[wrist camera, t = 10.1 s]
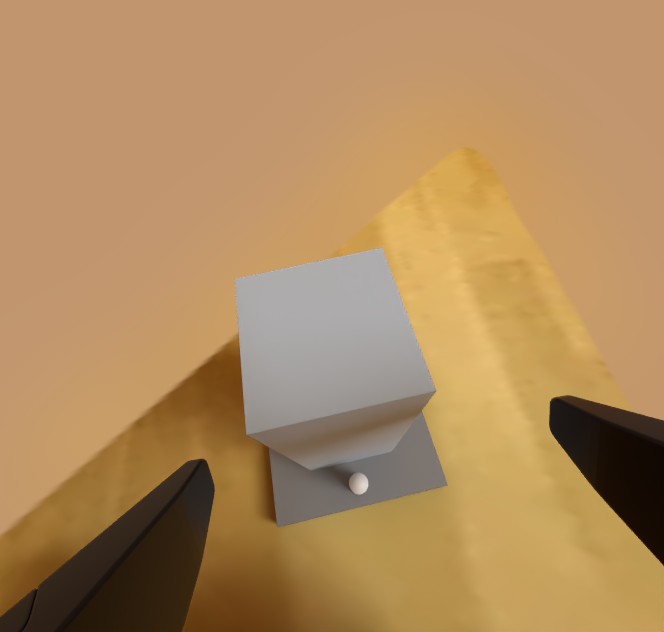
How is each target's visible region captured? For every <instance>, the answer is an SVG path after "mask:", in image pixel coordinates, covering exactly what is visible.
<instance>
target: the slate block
mask: <svg viewBox="0 0 664 632" xmlns="http://www.w3.org/2000/svg"><path fill="white" fill-rule="evenodd" d="M235 289H236V302H237V315H238V330H239V344H240V357H241V371H242V384H243V398H244V412H245V425H246V435H247V436H249V437H251V438H253V439H255V440H256V441H258V442H260V443H262V444H264V445H266V446H267V447H269V448H271V449H273V450H275V451H276V452H278V453H280V454H282V455H284V456H285V457H287V458H289V459H291V460H293V461H294V462H296V463H298V464H300V465H302V466H304V467H305V468H307V469H309V470H311V471H312V470H317V469H321V468H325V467H329V466H333V465H338V464H342V463H346V462H350V461H354V460H359V459H363V458H367V457H371V456H375V455H380V454H384V453H388V452H392V450H393V449H394V448H395V446H396V445H397V443H398V442H399V441H400V439H401V438H402V437H403V435H404V434H405V433H406V431H407V430H408V429H409V427H410V426H411V424H412V423H413V422H414V420H415V419H416V418H417V416H418V415H419V414H420V412H421V411H422V409H423V408H424V407H425V405H426V404H427V403H428V401H429V400H430V399H431V397H432V396H433V395H434V393H435V392H436V389H435V386H434V383H433V381H432V378H431V376H430V373H429V370H428V368H427V365H426V362H425V360H424V357H423V354H422V352H421V349H420V347H419V344H418V341H417V339H416V336H415V333H414V331H413V328H412V325H411V323H410V320H409V318H408V315H407V312H406V310H405V307H404V304H403V302H402V299H401V296H400V294H399V291H398V289H397V286H396V283H395V281H394V278H393V275H392V273H391V270H390V267H389V265H388V262H387V260H386V257H385V254H384V252H383V249H382V248H378V249H373V250H369V251H364V252H359V253H354V254H350V255H345V256H340V257H335V258H331V259H326V260H321V261H317V262H312V263H308V264H303V265H298V266H293V267H288V268H284V269H279V270H274V271H269V272H265V273H260V274H255V275H251V276H246V277H241V278H237V279H235Z"/></svg>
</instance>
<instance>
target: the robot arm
mask: <svg viewBox="0 0 664 632" xmlns="http://www.w3.org/2000/svg"><path fill="white" fill-rule="evenodd" d="M549 427H550V430H551V433H552V434H553V436H554V437H555V439H556V440H557V441H558V443H559V444H560V445H561V447H562V448H563V449H564V450H565V452H566V453H567V454H568V456H569V457H570V458H571V460H572V461H573V462H574V464H575V465H576V466H577V467H578V469H579V470H580V471H581V473H582V474H583V475H584V477H585V478H586V479H587V480H588V482H589V483H590V484H591V485H592V487H593V488H594V489H595V490H596V491H597V493H598V494H599V495H600V496H601V497H602V498H603V499H604V501H605V502H606V503H607V504H608V505H609V506H610V507H611V508H612V509H613V510H614V512H615V513H616V514H617V515H618V516H619V517H620V518H621V519H622V520H623V522H624V523H625V524H626V525H627V526H628V527H629V528H630V529H631V530H632V531H633V533H634V534H635V535H636V536H637V537H638V538H639V539H640V540H641V541H642V542H643V544H644V545H645V546H646V547H647V548H648V549H649V550H650V551H651V552H652V553H653V555H654V556H655V557H656V558H657V559H658V560H659V561H660V562H661V563H662V564H663V566H664V421H663V420H659V419H656V418H652V417H648V416H645V415H641V414H637V413H634V412H630V411H626V410H622V409H619V408H615V407H611V406H607V405H604V404H600V403H596V402H593V401H589V400H585V399H581V398H578V397H574V396H570V395H566V396H560V397H554V398H553V399H551V401H550V416H549ZM214 491H215V490H214V483H213V480H212V476H211V473H210V470H209V467H208V464H207V461H206V460H205V459H197V460H191V461H188V462H186V463H185V464H184V465H183V466H181V467H180V468H179V469H178V470H177V471H175V472H174V473H173V474H172V475H171V476H169V477H168V478H167V479H166V480H165V481H163V482H162V483H161V484H160V485H159V486H157V487H156V488H155V489H154V490H153V491H151V492H150V493H149V494H148V495H147V496H145V497H144V498H143V499H142V500H141V501H139V502H138V503H137V504H136V505H135V506H133V507H132V508H131V509H130V510H129V511H127V512H126V513H125V514H124V515H123V516H121V517H120V518H119V519H118V520H117V521H115V522H114V523H113V524H112V525H111V526H109V527H108V528H107V529H106V530H105V531H103V532H102V533H101V534H100V535H98V536H97V537H96V538H95V539H94V540H92V541H91V542H90V543H89V544H88V545H86V546H85V547H84V548H83V549H82V550H80V551H79V552H78V553H77V554H76V555H74V556H73V557H72V558H71V559H70V560H68V561H67V562H66V563H65V564H64V565H62V566H61V567H60V568H59V569H58V570H56V571H55V572H54V573H53V574H52V575H50V576H49V577H48V578H47V579H46V580H44V581H43V582H42V583H41V584H40V585H39V586H38V589H34V590H32V591H31V592H30V593H29V594H27V595H26V596H25V597H24V598H23V599H22V600H20V601H19V602H18V603H17V604H16V605H14V606H13V607H12V608H11V609H10V610H8V611H7V612H6V613H5V614H3V615H2V616H1V617H0V632H182V630H183V626H184V623H185V619H186V616H187V612H188V609H189V605H190V602H191V598H192V595H193V591H194V588H195V584H196V581H197V577H198V573H199V570H200V566H201V562H202V558H203V553H204V548H205V543H206V537H207V532H208V526H209V521H210V515H211V510H212V504H213V499H214Z"/></svg>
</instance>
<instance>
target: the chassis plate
mask: <svg viewBox="0 0 664 632" xmlns="http://www.w3.org/2000/svg"><path fill="white" fill-rule="evenodd" d="M269 455H270V464H271V474H272V483H273V493H274V502H275V511H276V521H277V527H281V526H285V525H289V524H293V523H297V522H301V521H305V520H309V519H313V518H317V517H322V516H326V515H330V514H334V513H338V512H342V511H346V510H350V509H354V508H358V507H362V506H366V505H370V504H374V503H378V502H382V501H386V500H390V499H394V498H399V497H403V496H407V495H411V494H415V493H419V492H423V491H427V490H431V489H435V488H439V487H443V486H447V482H446V479H445V476H444V473H443V470H442V468H441V465H440V462H439V459H438V456H437V453H436V450H435V447H434V445H433V442H432V439H431V436H430V433H429V430H428V427H427V424H426V422H425V419H424V416H423V413H422V411H421V412H420V414H419V415H418V416H417V418H416V419H415V420H414V422H413V423H412V424H411V426H410V427H409V429H408V430H407V431H406V433H405V434H404V435H403V437H402V438H401V439H400V441H399V442H398V443H397V445H396V446H395V448H394V449H393V450H392V452H388V453H384V454H380V455H375V456H371V457H367V458H363V459H359V460H354V461H350V462H346V463H342V464H338V465H333V466H329V467H325V468H321V469H317V470H312V471H311V470H309V469H307V468H305V467H304V466H302V465H300V464H298V463H296V462H294V461H293V460H291V459H289V458H287V457H285V456H284V455H282V454H280V453H278V452H276V451H275V450H273V449H271V448H269Z"/></svg>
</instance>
